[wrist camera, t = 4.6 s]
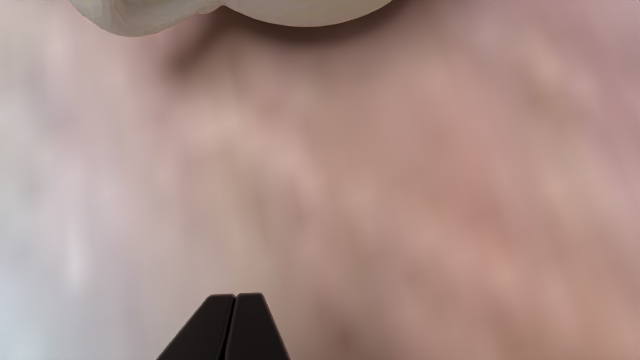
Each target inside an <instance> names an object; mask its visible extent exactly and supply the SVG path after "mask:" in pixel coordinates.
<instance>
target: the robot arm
mask: <svg viewBox="0 0 640 360" xmlns="http://www.w3.org/2000/svg"><path fill="white" fill-rule="evenodd" d="M156 360H291V359H290V357H289V355H288V352H287V350H286V348H285V345H284V343H283V340H282V338H281V336H280V333H279V331H278V329H277V326H276V324H275V322H274V319H273V317H272V314H271V312H270V310H269V307H268V305H267V303H266V300H265V298H264V296H263V294H261V293H240V294H238V295H237V296H235V295H233V294H214V295H210V296H209V297H207V298H206V300H205V301H204V302H203V303H202V305H201V306H200V307H199V308H198V309H197V311H196V312H195V313H194V314H193V315H192V317H191V318H190V319H189V320H188V322H187V323H186V324H185V325H184V326H183V328H182V329H181V330H180V331H179V332H178V334H177V335H176V336H175V337H174V339H173V340H172V341H171V342H170V343H169V345H168V346H167V347H166V348H165V350H164V351H163V352H162V353H161V354H160V356H159V357H158V358H157V359H156Z"/></svg>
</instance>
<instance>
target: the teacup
mask: <svg viewBox="0 0 640 360" xmlns="http://www.w3.org/2000/svg"><path fill="white" fill-rule="evenodd" d="M391 1H392V0H70V2H71V3H72V4H73V6H74V7H75V8H76V9H77V10H78V11H79V12H80V13H81V14H82V15H83V16H85V17H86V18H87V19H89V20H90V21H92V22H93V23H95V24H96V25H97V26H99V27H100V28H102V29H104V30H106V31H108V32H110V33H113V34H116V35H119V36H125V37H140V36H144V35H149V34H154V33H157V32H160V31H162V30H164V29H167V28H169V27H171V26H173V25H175V24H177V23H179V22H181V21H183V20H185V19H186V18H188V17H190V16H192V15H194V14H196V13H198V14H208V13H211V12H213V11H214V10H216V9H217V8H218V7H220V6H223V5H225V6H227V7H229V8H231V9H232V10H234V11H237V12H239V13H241V14H244V15H246V16H249V17H251V18H254V19H257V20H261V21H265V22H268V23H273V24H280V25H286V26H297V27H316V26H326V25H332V24H339V23H343V22H346V21H350V20H353V19H356V18H359V17H361V16H364V15H367V14H369V13H371V12H373V11H375V10H377V9H379V8H381V7H383V6H385V5H386V4H388V3H389V2H391Z"/></svg>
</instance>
